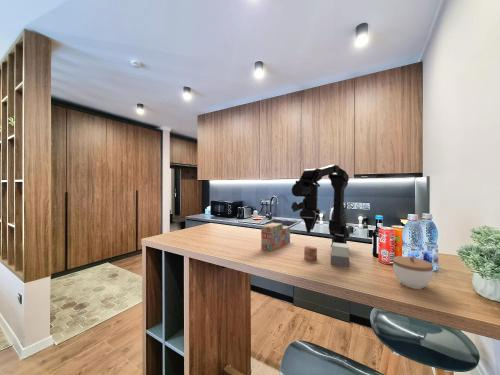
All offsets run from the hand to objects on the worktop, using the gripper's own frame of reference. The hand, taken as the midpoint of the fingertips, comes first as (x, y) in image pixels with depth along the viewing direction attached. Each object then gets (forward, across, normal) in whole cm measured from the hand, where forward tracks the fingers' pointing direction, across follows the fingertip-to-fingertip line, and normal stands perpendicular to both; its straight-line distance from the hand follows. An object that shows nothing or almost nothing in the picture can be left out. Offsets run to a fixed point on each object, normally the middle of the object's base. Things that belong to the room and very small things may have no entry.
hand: (310, 231), depth 95 cm
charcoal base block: (+12, 0, +13) cm, 18 cm away
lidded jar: (+12, +11, +35) cm, 39 cm away
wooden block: (+12, 0, 0) cm, 13 cm away
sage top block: (+8, 0, +13) cm, 15 cm away
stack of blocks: (+13, -14, -20) cm, 27 cm away
